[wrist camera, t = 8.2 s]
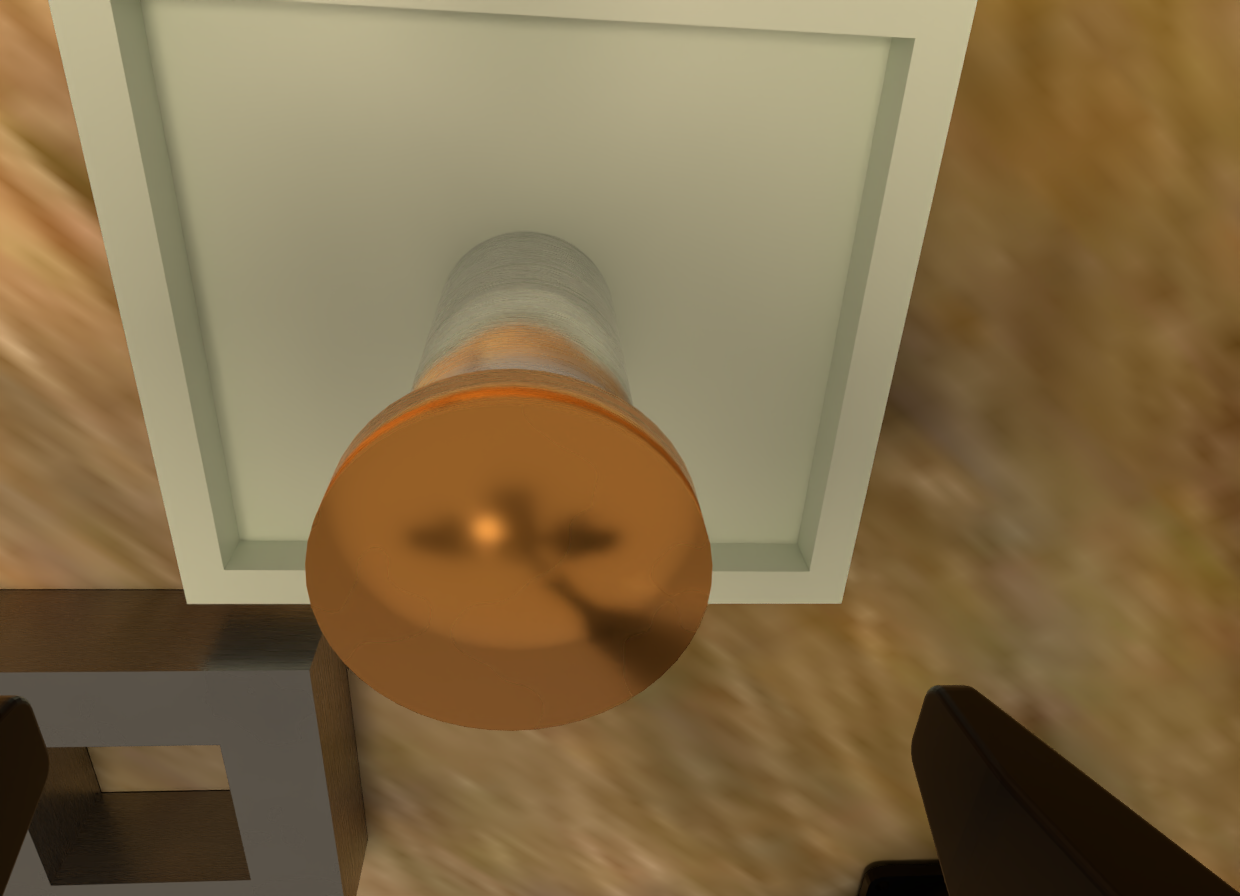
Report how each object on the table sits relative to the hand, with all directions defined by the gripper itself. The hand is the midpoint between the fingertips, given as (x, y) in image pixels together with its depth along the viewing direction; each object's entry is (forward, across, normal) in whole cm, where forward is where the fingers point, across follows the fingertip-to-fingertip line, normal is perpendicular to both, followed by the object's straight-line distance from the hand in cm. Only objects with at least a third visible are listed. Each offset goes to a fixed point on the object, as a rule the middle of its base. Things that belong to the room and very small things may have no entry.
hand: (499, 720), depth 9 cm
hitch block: (+12, +10, +13) cm, 21 cm away
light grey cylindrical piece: (+12, 0, 0) cm, 12 cm away
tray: (+12, 0, 0) cm, 12 cm away
